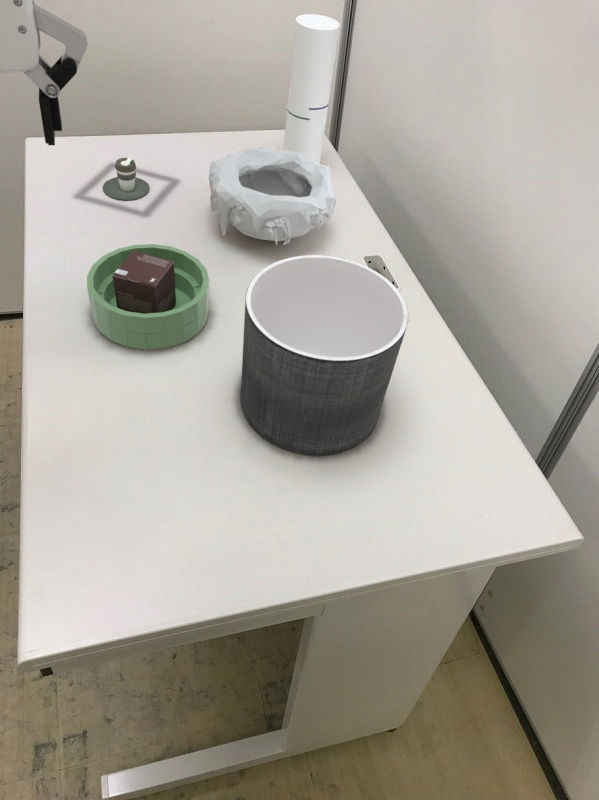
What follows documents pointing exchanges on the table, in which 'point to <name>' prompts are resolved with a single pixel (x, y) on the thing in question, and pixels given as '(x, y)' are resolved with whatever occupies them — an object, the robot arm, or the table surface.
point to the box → (145, 284)
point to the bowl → (271, 193)
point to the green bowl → (150, 326)
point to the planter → (319, 352)
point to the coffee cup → (126, 182)
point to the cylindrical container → (310, 84)
